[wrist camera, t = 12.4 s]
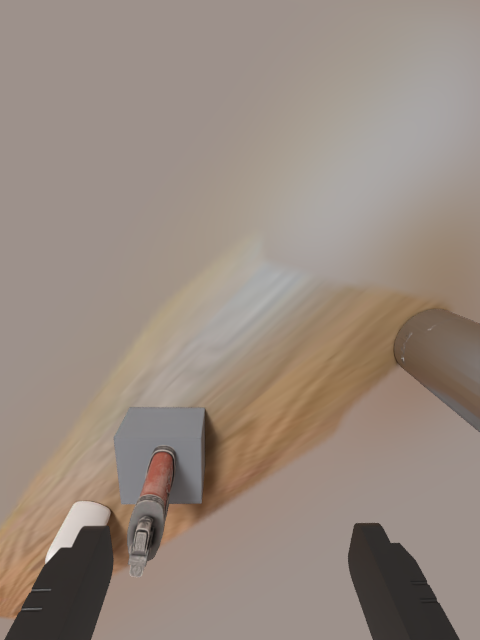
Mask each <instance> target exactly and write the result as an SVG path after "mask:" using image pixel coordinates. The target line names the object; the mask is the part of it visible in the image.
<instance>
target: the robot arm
mask: <svg viewBox="0 0 480 640" xmlns="http://www.w3.org/2000/svg"><path fill="white" fill-rule="evenodd" d="M394 352H395V357H396V360H397V362H398V363H399V365H400V366H401V367H402V368H403V369H404V370H406V371H407V372H408V373H409V374H410V375H412V376H413V377H414V378H415V379H416V380H418V381H419V382H420V383H421V384H422V385H423V386H424V387H426V388H427V389H428V390H429V391H431V392H432V393H433V394H434V395H435V396H437V397H438V398H439V399H440V400H441V401H443V402H444V403H445V404H446V405H447V406H449V407H450V408H451V409H452V410H453V411H455V412H456V413H457V414H458V415H459V416H461V417H462V418H463V419H464V420H466V421H467V422H468V423H469V424H470V425H472V426H473V427H474V428H475V429H476V430H478V431H479V432H480V323H477V322H475V321H473V320H470V319H468V318H465V317H463V316H460V315H458V314H455V313H453V312H450V311H447V310H443V309H431V310H426V311H423V312H421V313H418V314H417V315H415V316H413V317H412V318H411V319H409V320H408V321H407V322H406V323H405V324H404V325H403V327H402V328H401V329H400V331H399V333H398V335H397V337H396V340H395V345H394ZM348 564H349V570H350V574H351V578H352V581H353V584H354V587H355V590H356V592H357V595H358V598H359V601H360V604H361V607H362V610H363V613H364V615H365V618H366V621H367V624H368V627H369V630H370V633H371V636H372V638H373V640H459V638H458V636H457V634H456V632H455V630H454V629H453V627H452V625H451V623H450V622H449V620H448V618H447V616H446V614H445V612H444V611H443V609H442V607H441V605H440V603H438V602H437V598H436V596H435V594H434V593H433V591H432V589H431V588H430V585H428V584H427V580H426V578H425V577H424V575H423V573H422V571H421V569H420V568H419V566H418V564H417V562H416V560H415V559H414V558H413V557H412V556H411V555H410V554H409V553H408V552H407V551H406V550H405V548H403V546H402V545H401V544H400V543H390V541H389V539H388V537H387V535H386V533H385V531H384V529H383V528H382V526H381V525H380V524H379V523H356V524H355V525H354V529H353V534H352V538H351V543H350V548H349V553H348ZM112 570H113V551H112V543H111V536H110V529H109V526H83V527H82V528H81V529H80V531H79V533H78V535H77V537H76V539H75V541H74V543H73V545H72V547H61V548H60V549H59V550H58V551H57V552H56V553H55V554H54V555H53V557H52V558H51V559H50V560H49V561H48V562H47V563H46V564H45V565H44V567H43V569H42V570H41V572H40V574H39V576H38V578H37V580H36V582H35V583H34V585H33V587H32V591H31V593H29V595H28V597H27V598H26V600H25V602H24V604H23V606H22V609H21V612H19V613H18V615H17V617H16V619H15V621H14V623H13V625H12V626H11V628H10V630H9V632H8V634H7V636H6V638H5V640H91V638H92V635H93V632H94V629H95V625H96V623H97V620H98V617H99V613H100V611H101V607H102V605H103V602H104V598H105V595H106V592H107V589H108V586H109V583H110V580H111V576H112Z"/></svg>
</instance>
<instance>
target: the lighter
mask: <svg viewBox="0 0 480 640" xmlns="http://www.w3.org/2000/svg"><path fill="white" fill-rule="evenodd" d="M175 473H176V452H175V450H174V449H173V448H172V447H170V446H167V445H160V446H157V447H156V448H155V449H154V451H153V453H152V456H151V458H150V461H149V464H148V467H147V471H146V476H145V482H144V485H143V488H142V491H141V494H140V497H139V499H138V500H137V502H136V505H135V507H134V510H133V512H132V515H131V518H130V523H129V527H128V534H127V545H128V552H129V561H128V565H131V566H130V575H131V576H133V577H141V576H142V574H143V570H144V566H146V563H147V561H149V560H151V559H153V558H154V557H155V555H156V553H157V550H158V548H159V546H160V542H161V539H162V535H163V531H164V524H165V520H166V516H167V511H168V507H169V498H170V492H171V489H172V486H173V482H174V478H175Z"/></svg>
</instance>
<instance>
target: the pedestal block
mask: <svg viewBox="0 0 480 640" xmlns="http://www.w3.org/2000/svg"><path fill="white" fill-rule="evenodd" d="M114 445H115V454H116V462H117V471H118V479H119V488H120V497H121V504H136V502H137V500H138V499H139V497H140V494H141V491H142V488H143V485H144V482H145V476H146V471H147V467H148V464H149V461H150V458H151V456H152V453H153V451H154V449H155V448H156V447H157V446H160V445H167V446H170V447H172V448H173V449H174V450H175V452H176V473H175V478H174V482H173V486H172V489H171V492H170V498H169V504H191V503H202V494H203V483H204V472H205V408H152V407H130V408H129V410H128V412H127V414H126V416H125V417H124V419H123V421H122V423H121V425H120V427H119V429H118V431H117V433H116V434H115V436H114Z"/></svg>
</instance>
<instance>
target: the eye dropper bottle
mask: <svg viewBox="0 0 480 640" xmlns="http://www.w3.org/2000/svg"><path fill="white" fill-rule="evenodd" d="M110 514H111V512H110V509H109V508H107V507H105V506H104V505H101V504H99V503H96V502H91V501H78V502H76V503H74V505H73V506H72V508H71V510H70V512H69V513H68V515H67V517H66V519H65V521H64V522H63V524H62V526H61V528H60V530H59V532H58V534H57V535H56V537H55V539H54V541H53V543H52V545H51V547H50V548H49V550H48V553H47V556H46V559H45V563H47V562H48V561H49V560H50V559H51V558H52V557H53V555H54V554H55V553H56V552H57V551H58V550H59V549H60V548H61V547H72V545H73V543H74V541H75V539H76V537H77V535H78V533H79V531H80V529H81V528H82V527H83V526H106V525H107V523H108V520H109V517H110Z"/></svg>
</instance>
